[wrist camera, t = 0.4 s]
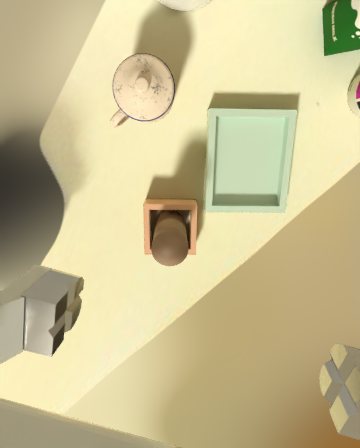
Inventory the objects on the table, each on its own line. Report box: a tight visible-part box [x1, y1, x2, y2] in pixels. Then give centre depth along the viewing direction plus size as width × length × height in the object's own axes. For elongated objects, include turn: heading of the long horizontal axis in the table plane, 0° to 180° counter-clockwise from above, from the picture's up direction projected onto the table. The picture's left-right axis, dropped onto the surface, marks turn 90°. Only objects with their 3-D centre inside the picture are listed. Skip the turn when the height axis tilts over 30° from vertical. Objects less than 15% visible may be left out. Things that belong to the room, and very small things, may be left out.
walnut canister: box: [151, 210, 188, 266], centre depth 50 cm, size 6×6×14 cm
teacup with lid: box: [110, 53, 175, 127], centre depth 44 cm, size 12×9×12 cm
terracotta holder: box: [143, 199, 197, 255], centre depth 54 cm, size 10×10×4 cm
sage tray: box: [204, 108, 297, 213], centre depth 52 cm, size 18×15×3 cm
